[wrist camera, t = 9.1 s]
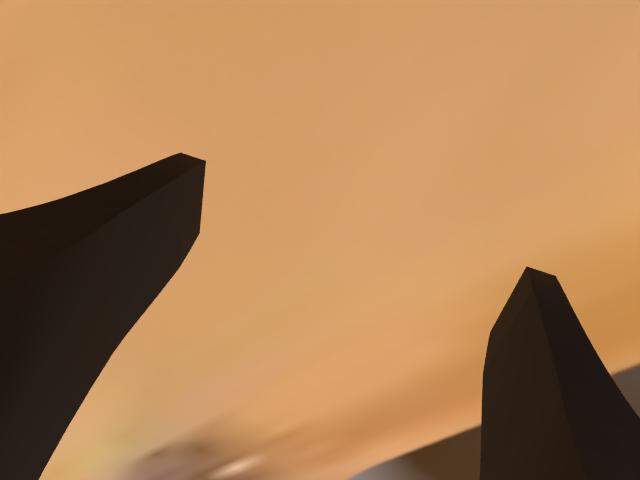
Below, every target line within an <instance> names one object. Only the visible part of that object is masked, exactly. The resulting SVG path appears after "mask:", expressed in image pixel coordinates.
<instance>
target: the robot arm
mask: <svg viewBox="0 0 640 480" xmlns="http://www.w3.org/2000/svg"><path fill="white" fill-rule="evenodd" d="M205 165H206V161H204V160H201V159H198V158H195V157H192V156H189V155H186V154H183V153H178V154H175V155H172V156H170V157H167V158H165V159H162V160H160V161H158V162H155V163H153V164H150V165H148V166H146V167H143V168H141V169H139V170H136V171H134V172H131V173H129V174H126V175H124V176H121V177H119V178H116V179H114V180H111V181H109V182H107V183H104V184H101V185H98V186H95V187H93V188H90V189H87V190H84V191H81V192H78V193H76V194H73V195H70V196H67V197H64V198H61V199H58V200H55V201H51V202H48V203H44V204H41V205H37V206H33V207H29V208H26V209H22V210H18V211H14V212H9V213H5V214H0V480H39V478H40V476H41V474H42V472H43V470H44V468H45V466H46V465H47V463H48V461H49V459H50V458H51V456H52V454H53V452H54V450H55V449H56V447H57V445H58V443H59V442H60V440H61V438H62V436H63V434H64V433H65V431H66V429H67V427H68V426H69V424H70V422H71V421H72V419H73V417H74V415H75V414H76V412H77V410H78V409H79V407H80V405H81V404H82V402H83V400H84V399H85V397H86V395H87V394H88V392H89V390H90V389H91V387H92V385H93V384H94V382H95V381H96V379H97V378H98V376H99V374H100V373H101V371H102V370H103V368H104V366H105V365H106V363H107V362H108V360H109V358H110V357H111V355H112V354H113V352H114V351H115V349H116V348H117V347H118V345H119V344H120V343H121V341H122V340H123V338H124V337H125V336H126V334H127V333H128V332H129V331H130V329H131V328H132V327H133V326H134V324H135V323H136V322H137V321H138V319H139V318H140V317H141V316H142V314H143V313H144V312H145V311H146V309H147V308H148V307H149V306H150V304H151V303H152V302H153V301H154V299H155V298H156V297H157V296H158V294H159V293H160V292H161V291H162V289H163V288H164V287H165V286H166V284H167V283H168V282H169V280H170V279H171V278H172V277H173V275H174V274H175V273H176V271H177V270H178V269H179V267H180V266H181V264H182V262H183V261H184V259H185V258H186V256H187V254H188V253H189V251H190V249H191V247H192V245H193V244H194V242H195V240H196V238H197V237H198V235H199V233H200V221H201V210H202V199H203V187H204V176H205ZM479 480H640V418H639V417H638V415H637V414H636V413H635V411H634V410H633V409H632V407H631V406H630V404H629V403H628V402H627V400H626V399H625V397H624V396H623V394H622V393H621V391H620V390H619V388H618V387H617V385H616V384H615V382H614V380H613V379H612V377H611V376H610V374H609V373H608V371H607V370H606V368H605V366H604V365H603V363H602V361H601V360H600V358H599V356H598V355H597V353H596V351H595V349H594V348H593V346H592V344H591V342H590V340H589V339H588V337H587V335H586V333H585V331H584V329H583V328H582V326H581V324H580V322H579V320H578V318H577V316H576V314H575V312H574V310H573V309H572V307H571V305H570V303H569V301H568V299H567V297H566V295H565V293H564V291H563V289H562V287H561V285H560V283H559V281H558V280H557V278H556V276H554V275H551V274H548V273H545V272H542V271H539V270H536V269H533V268H530V267H526V269H525V270H524V272H523V274H522V276H521V278H520V279H519V281H518V283H517V285H516V287H515V288H514V290H513V292H512V294H511V296H510V297H509V299H508V301H507V303H506V305H505V306H504V308H503V310H502V312H501V314H500V315H499V317H498V319H497V321H496V323H495V325H494V326H493V328H492V330H491V332H490V336H489V341H488V347H487V352H486V358H485V365H484V371H483V390H482V425H481V465H480V479H479Z"/></svg>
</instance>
